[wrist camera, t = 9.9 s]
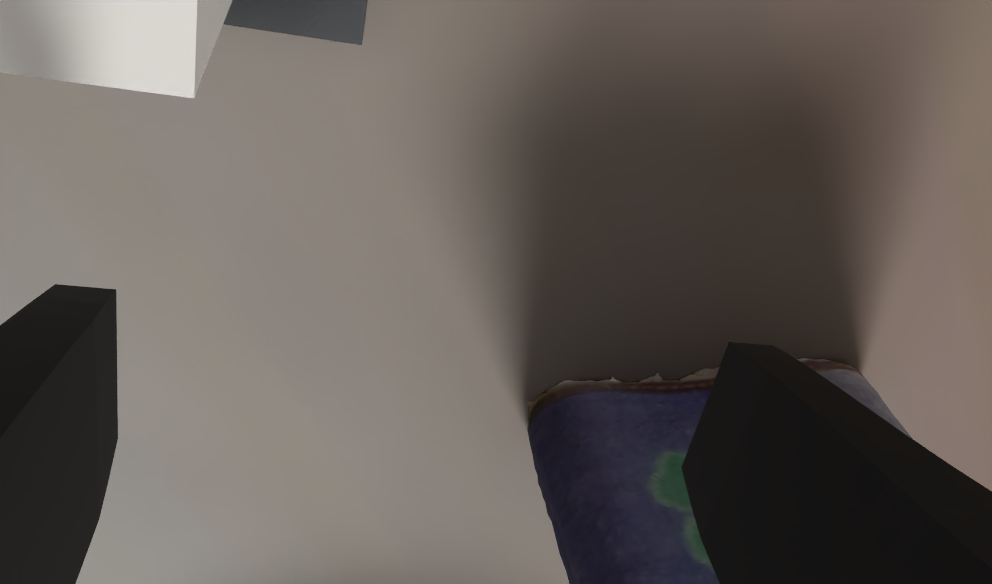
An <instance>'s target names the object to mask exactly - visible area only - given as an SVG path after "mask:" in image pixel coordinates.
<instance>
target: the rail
mask: <svg viewBox="0 0 992 584" xmlns="http://www.w3.org/2000/svg"><path fill="white" fill-rule="evenodd" d="M231 3H232V0H0V73H6V74H14V75H21V76H29V77H37V78H44V79H52V80H59V81H67V82H74V83H82V84H90V85H97V86H105V87H112V88H120V89H127V90H135V91H143V92H150V93H158V94H165V95H173V96H180V97H188V98H194V97H195V95H196V92H197V90H198V87H199V84H200V82H201V79H202V77H203V74H204V72H205V69H206V67H207V64H208V61H209V59H210V56H211V54H212V51H213V49H214V46H215V43H216V41H217V38H218V36H219V33H220V31H221V28H222V26H223V23H224V20H225V18H226V15H227V13H228V10H229V8H230V5H231Z"/></svg>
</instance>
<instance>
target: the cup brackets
mask: <svg viewBox="0 0 992 584" xmlns="http://www.w3.org/2000/svg"><path fill="white" fill-rule="evenodd" d="M366 8H367V0H232V3H231V5H230V8H229V10H228V13H227V15H226V18H225V20H224V23H223V24H226V25H232V26H239V27H245V28H252V29H259V30H265V31H272V32H279V33H285V34H292V35H299V36H305V37H312V38H318V39H325V40H332V41H338V42H345V43H352V44H358V45H362V40H363V32H364V24H365V16H366Z"/></svg>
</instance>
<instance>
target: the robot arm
mask: <svg viewBox="0 0 992 584" xmlns="http://www.w3.org/2000/svg"><path fill="white" fill-rule="evenodd" d="M117 439H118V416H117V324H116V290H115V289H103V288H92V287H80V286H68V285H57V284H55V285H54V286H52V287H51V288H50V289H48V290H47V291H45V292H44V293H43V294H41V295H40V296H39V297H37V298H36V299H34V300H33V301H32V302H30V303H29V304H28V305H26V306H25V307H24V308H22V309H21V310H20V311H19V312H17V313H16V314H15V315H13V316H12V317H11V318H9V319H8V320H7V321H6V322H4V323H3V324H2V325H0V584H75V583H76V580H77V578H78V575H79V572H80V570H81V567H82V564H83V561H84V559H85V556H86V553H87V551H88V548H89V545H90V543H91V540H92V537H93V534H94V532H95V529H96V526H97V523H98V520H99V517H100V513H101V509H102V505H103V501H104V496H105V492H106V488H107V484H108V480H109V475H110V471H111V466H112V462H113V457H114V453H115V448H116V444H117ZM681 468H682V472H683V476H684V480H685V484H686V488H687V492H688V496H689V500H690V504H691V507H692V511H693V514H694V518H695V521H696V524H697V528H698V531H699V534H700V538H701V540H702V543H703V545H704V548H705V550H706V553H707V555H708V557H709V560H710V562H711V564H712V567H713V569H714V571H715V574H716V576H717V578H718V581H719V583H720V584H992V491H990V490H988V489H987V488H985V487H984V486H982V485H981V484H979V483H978V482H976V481H974V480H973V479H971V478H970V477H968V476H967V475H965V474H963V473H962V472H960V471H959V470H957V469H956V468H954V467H953V466H951V465H950V464H948V463H947V462H945V461H944V460H942V459H941V458H939V457H938V456H936V455H935V454H933V453H932V452H930V451H929V450H927V449H926V448H925V447H923V446H922V445H920V444H919V443H917V442H916V441H914V440H913V439H912V438H910V437H909V436H907V435H906V434H904V433H903V432H901V431H900V430H899V429H897V428H896V427H894V426H893V425H891V424H890V423H889V422H887V421H886V420H884V419H883V418H882V417H880V416H879V415H877V414H876V413H874V412H873V411H872V410H870V409H869V408H867V407H866V406H865V405H863V404H862V403H860V402H859V401H857V400H856V399H855V398H853V397H852V396H850V395H849V394H847V393H846V392H845V391H843V390H842V389H840V388H839V387H838V386H836V385H835V384H833V383H832V382H830V381H829V380H827V379H826V378H824V377H823V376H822V375H820V374H819V373H817V372H816V371H814V370H813V369H811V368H810V367H808V366H807V365H805V364H803V363H802V362H800V361H799V360H797V359H795V358H794V357H792V356H791V355H789V354H787V353H785V352H784V351H782V350H780V349H778V348H776V347H774V346H768V345H757V344H745V343H733V342H729V344H728V346H727V349H726V352H725V354H724V357H723V359H722V362H721V365H720V367H719V370H718V373H717V375H716V378H715V380H714V383H713V386H712V388H711V391H710V394H709V396H708V399H707V401H706V404H705V407H704V409H703V412H702V414H701V417H700V420H699V422H698V425H697V428H696V430H695V433H694V435H693V438H692V441H691V443H690V446H689V448H688V451H687V454H686V456H685V459H684V462H683V464H682V467H681Z"/></svg>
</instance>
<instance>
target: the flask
mask: <svg viewBox="0 0 992 584" xmlns="http://www.w3.org/2000/svg"><path fill="white" fill-rule="evenodd" d="M796 359H797V358H796ZM797 360H799V361H800V362H802V363H803V364H805V365H807V366H808V367H810V368H811V369H813V370H814V371H816V372H817V373H819V374H820V375H822V376H823V377H824V378H826V379H827V380H829V381H830V382H832V383H833V384H835V385H836V386H838V387H839V388H840V389H842V390H843V391H845V392H846V393H847V394H849V395H850V396H852V397H853V398H855V399H856V400H857V401H859V402H860V403H862V404H863V405H865V406H866V407H867V408H869V409H870V410H872V411H873V412H874V413H876V414H877V415H879V416H880V417H882V418H883V419H884V420H886V421H887V422H889V423H890V424H891V425H893V426H894V427H896V428H897V429H899V430H900V431H901V432H903V433H904V434H906V435H907V436H909V437H910V438H911V436H910V435H909V434H908V433H907V431H906V430H905V429H904V428H903V426H902V425H901V424H900V423H899V421H898V420H897V419H896V418H895V416H894V415H893V414H892V413H891V411H890V410H889V408H888V407H887V406H886V404H885V403H884V401H883V400H882V399H881V397H880V396H879V394H878V393H877V391H876V390H875V389H874V388H873V387H872V386H871V385H870V384H869V382H868V381H867V380H866V379H865V377H864V376H863V375H862V374H861V372H859V371H858V370H856V369H855V368H853V367H852V366H850V365H848V364H845V363H838V362H834V361H831V360H826V359H818V360H814V359H807V358H802V359H797ZM719 367H720V366H719ZM719 367H716V368H713V369H710V368H704V369H702V370H700V371H698V372H697V371H695V374H694V375H692V374H691V375H688V376H687V377H684V378H682V379H680V381H677V380H674V381H670V380H663V378H662V377H661V376H660V375H659V374H658V373H657V374H656V375H655V376H653V377H648V378H647V379H645V380H642V381H640V382H631V383H626V382H623V381H619V380H615V378H614V377H611V379H610V380H604V381H601V380H600V381H598V382H597V381H592V380H588V381H571V380H565V381H563V382H560V383H559V384H558V385H557V386H556V385H555V386H553V387H552V388H550V389H549V390H547V392H546V394H545V392H544V393H543V394H542V395H540V396H539V397H538V398H537V399H536V400H533V401H530V402H527V405H528V406H529V407H530V412H529V419H528V429H527V430H528V435H529V440H530V446H531V450H532V454H533V460H534V465H535V470H536V472H537V475H538V484H539V486H540V488H541V491H542V495H543V498H544V500H545V503H546V508H547V512H548V516H549V517H550V519H551V521H552V525H553V528H554V532H555V536H556V540H557V544H558V549H559V553H560V556H561V558H562V561H563V564H564V566H565V569H566V572H567V576H568V579H569V583H570V584H720V583H719V581H718V578H717V576H716V574H715V571H714V569H713V567H712V564H711V562H710V560H709V557H708V555H707V553H706V550H705V548H704V545H703V543H702V540H701V538H700V534H699V531H698V528H697V524H696V521H695V518H694V514H693V511H692V507H691V504H690V500H689V496H688V492H687V488H686V484H685V480H684V476H683V472H682V468H681V467H682V464H683V462H684V459H685V456H686V454H687V451H688V448H689V446H690V443H691V441H692V438H693V435H694V433H695V430H696V428H697V425H698V422H699V420H700V417H701V414H702V412H703V409H704V407H705V404H706V401H707V399H708V396H709V394H710V391H711V388H712V386H713V383H714V380H715V378H716V375H717V373H718V370H719Z"/></svg>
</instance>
